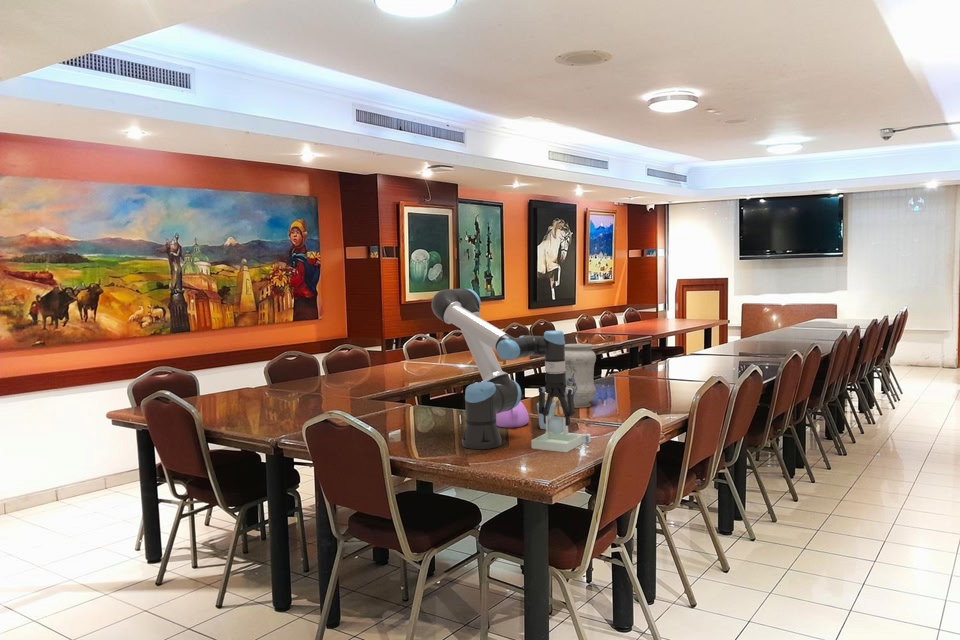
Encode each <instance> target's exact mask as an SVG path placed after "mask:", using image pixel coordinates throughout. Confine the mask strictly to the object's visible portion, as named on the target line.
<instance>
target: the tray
mask: <svg viewBox="0 0 960 640" xmlns="http://www.w3.org/2000/svg"><path fill="white" fill-rule="evenodd" d="M530 441H531V442H530V443H531V449H533V450H542V451H543V450H544V451H548V452H549V451H551V452H559V453H560V452H561V453H569V452H570V451H572V450H573V449H575V448H577V447H579V446H580V445H582V444H583V443H582V436H580V435H571V434H566V435H564V434H561V433H560V434H554V433H551V432H550V433H545V432H544V433H543V434H541V435H538V436H537V437H536V438H533V439H531V440H530Z"/></svg>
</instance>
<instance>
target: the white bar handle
mask: <svg viewBox="0 0 960 640" xmlns="http://www.w3.org/2000/svg"><path fill="white" fill-rule="evenodd" d="M545 433H546V430H545V432H544V434H545ZM551 433H552V432H551ZM561 434H563V432H562V433H561ZM568 434H571V435H580V436H582V444H589V443H591V434H590V433H587V434H584V433H583V434H582V433H581V434H580V433H573V432H568Z"/></svg>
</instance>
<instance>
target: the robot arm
mask: <svg viewBox="0 0 960 640" xmlns="http://www.w3.org/2000/svg"><path fill="white" fill-rule="evenodd" d="M481 304H482V301H481V298H480V296H479V295H478V293H477V292H476V291H475V290H473V289H471V288H464V287H460V288H453V289H446V288H445V289H441V290H439V291H437V292H436V293H435V294H434V296H433V297H432V300H431V310H432V312H433V315H435V316H436V318H438V319H439V320H441V321H442V322H444V323H445V324H448V325H451V324H452V325H454V326H456V327H457V328H459V329H460V330H461V333H462V335H463V338H464V340H465V342H466V345H467V347H468V349H469V351H470V353H471V355H472V358H473V360H474V362H475V364H476V367H477V369H478V372H479V374H480V376H481V379H482V381H480V382H474V383H471V384H469V385H468V386H466V388H465V390H464V391H465V395H464V401H465V403H464V404H465V406H464V407H465V427H464V431H463V436H462V438H461V445H462V447H464V448H466V449H470V450H486V449H488V450H489V449H494V448H498V447H500V446H502V445H503V444H502V436H501V433H500V430H499V428H498V427H499V426H497V424H496V414H497V413H501V412H504V411H509V410H511V409H513V408H515V407H516V406H517V405H518V404H519V403H520V401H521V400H522V389H521V386H520V384H519V383H518V382H517V381H515V380H513V379H511V378H510V376H509V374H508V372H506V371H503V370H502V367H501V365H500V363H499V360H498V359H497V355H498V357H499V359H501V360H503V361H513V360H517V359H523V358H527V357H532V356H534V357H535V356H540V357H544V367H545V369H544V370H545V372H546V373H544V374H545V376H544V377H545V386H542V387H541V386H540V387H538V389H537V390H538V393H539V397H538V403H539V413H540V414H543V416H544V424H546V429H545V431H546V433H550V432H551V431H550V430H549V427H548V423H549V421H550V419H551V415H548V414H549V410H550V407H551V403H552V402H553V400H554V398H557V399H558V400H559V402H560V403H559V404H560V407H561V408H562V409H561V410H562V412H563V415H564V416H563V417H562V419H563V434H564V435H566V434H568V433H569V426H570V425H571V417H572V416H574V415H575V414H576V411H575V410H576V409H575V408H574V401H573V392H574V389H570V388H567V386H566V374H565V372H564V371H565V344H566V341H565V333H564V332H563V331H562V330H546V331H545V332H543V335H520V336H519V337H513V336H511V335H510V334H508V333H506V332H505V331H504V330H502V329H500V328H498V327H496V326H495V325H493V324H491V323H489V322H488V321H486V320H485V319H483V318H482V317H480V316H481V315H482V314H481V311H480V309H481ZM495 351H496V354H497V355H496V354H495ZM565 391H566V392H567V398H568V406H567V403H566V400H565V395H564V393H565ZM546 392H547V397H546ZM545 402H546V405H545ZM544 407H545V408H544Z"/></svg>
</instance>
